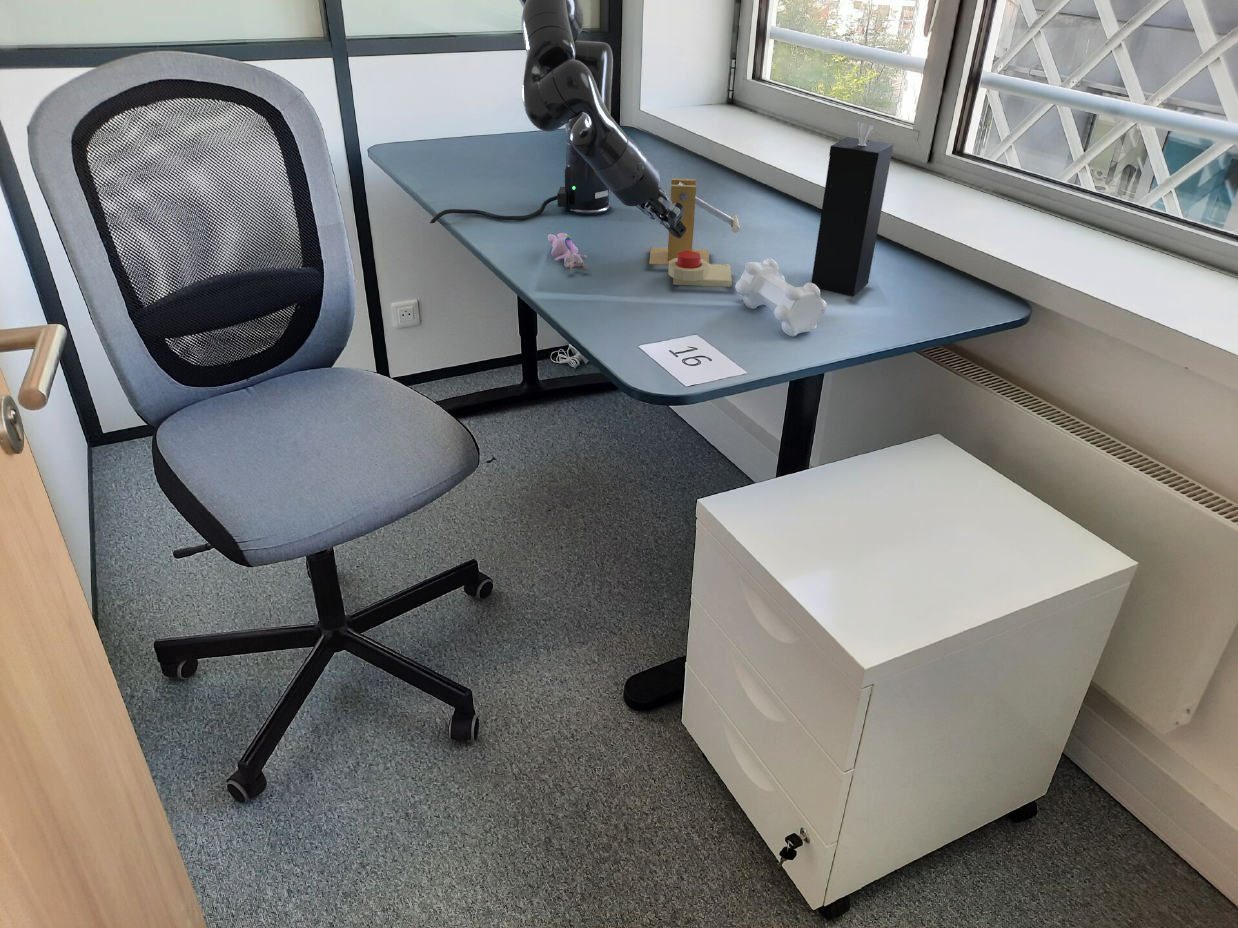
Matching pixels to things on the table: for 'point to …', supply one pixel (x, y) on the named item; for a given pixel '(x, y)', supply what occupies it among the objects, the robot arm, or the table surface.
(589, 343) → the table surface
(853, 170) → the tissue box
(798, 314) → the dog bone
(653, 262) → the bracket
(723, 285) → the button box
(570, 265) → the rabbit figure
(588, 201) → the robot arm
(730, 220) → the tap lever
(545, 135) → the table surface
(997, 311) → the table surface
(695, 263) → the button
